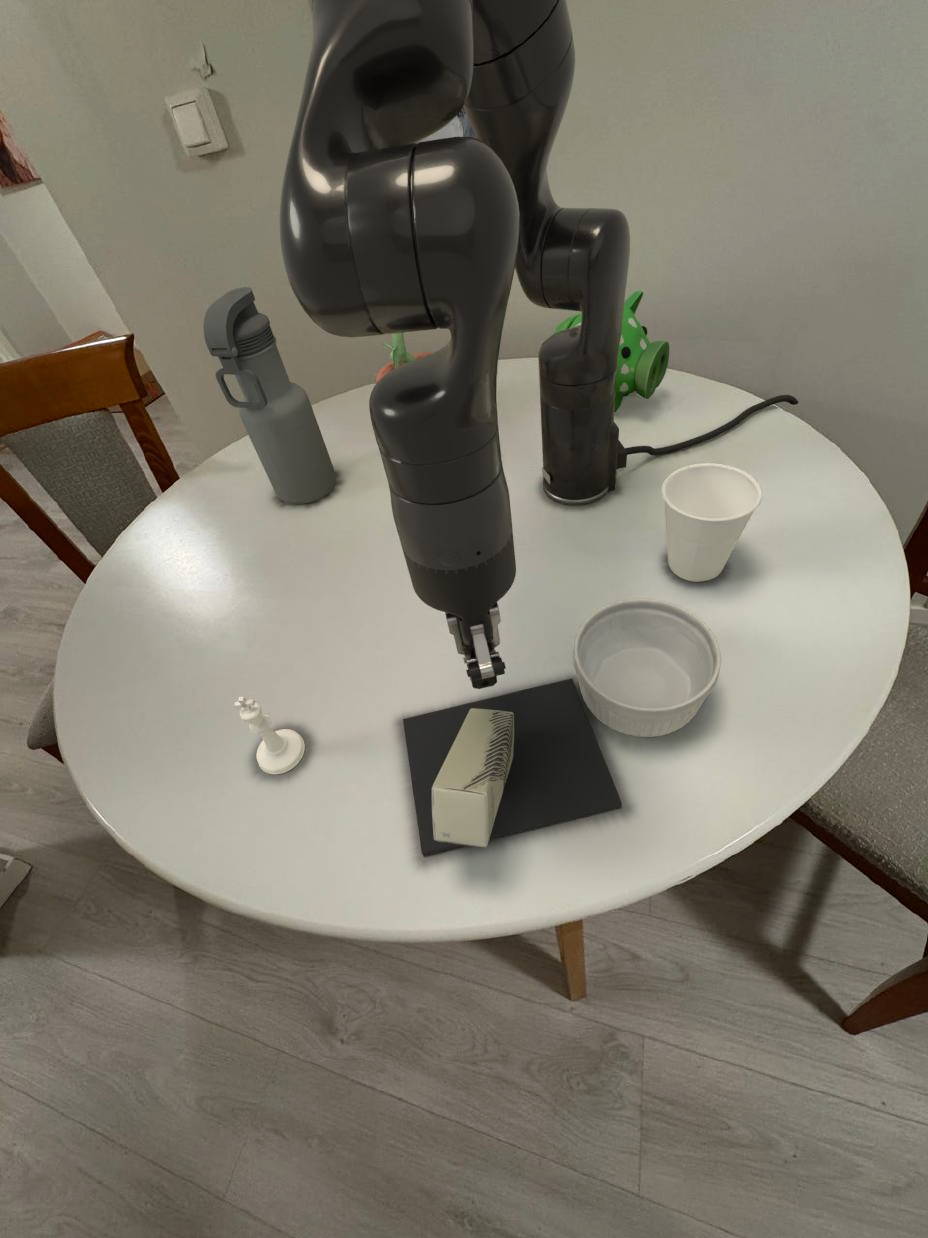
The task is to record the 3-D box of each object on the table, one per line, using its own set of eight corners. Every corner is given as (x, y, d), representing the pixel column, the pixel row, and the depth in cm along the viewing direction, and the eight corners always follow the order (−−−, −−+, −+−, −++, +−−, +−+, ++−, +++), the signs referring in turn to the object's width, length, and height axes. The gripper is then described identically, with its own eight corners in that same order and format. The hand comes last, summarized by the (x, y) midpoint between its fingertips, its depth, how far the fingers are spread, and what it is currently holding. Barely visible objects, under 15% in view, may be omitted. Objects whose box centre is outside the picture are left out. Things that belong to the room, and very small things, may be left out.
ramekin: (681, 773, 53) (693, 734, 48) (550, 716, 59) (548, 676, 53) (725, 667, 59) (740, 623, 54) (603, 625, 65) (606, 582, 60)
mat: (572, 682, 61) (572, 677, 60) (621, 807, 51) (622, 803, 51) (404, 723, 60) (402, 718, 60) (423, 856, 51) (421, 853, 50)
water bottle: (318, 511, 87) (238, 316, 66) (264, 505, 90) (172, 317, 69) (348, 471, 93) (283, 281, 72) (296, 466, 96) (220, 283, 75)
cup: (745, 546, 70) (768, 469, 62) (732, 604, 65) (755, 527, 57) (661, 531, 74) (672, 457, 66) (642, 585, 68) (652, 511, 60)
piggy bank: (637, 431, 89) (647, 332, 78) (532, 412, 97) (527, 319, 86) (669, 387, 97) (681, 290, 86) (568, 372, 105) (568, 282, 93)
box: (514, 757, 55) (489, 853, 44) (469, 752, 56) (432, 845, 44) (514, 708, 53) (488, 794, 42) (468, 703, 54) (429, 787, 43)
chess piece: (262, 735, 62) (219, 680, 54) (307, 728, 62) (271, 672, 54) (254, 778, 59) (208, 726, 51) (302, 771, 58) (263, 718, 51)
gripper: (536, 582, 34) (545, 734, 47) (489, 461, 43) (507, 617, 56) (412, 611, 34) (455, 755, 47) (390, 484, 43) (431, 634, 56)
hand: (483, 680), depth 51 cm, fingers closed
